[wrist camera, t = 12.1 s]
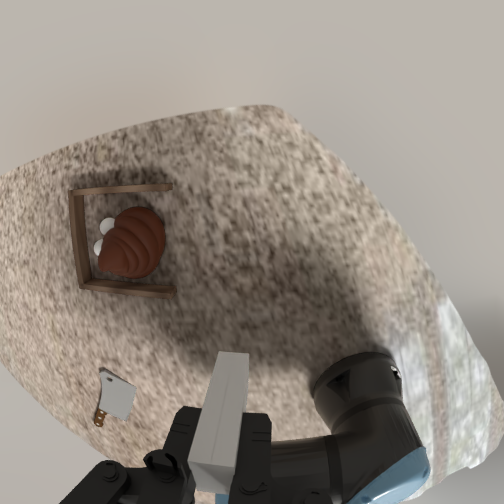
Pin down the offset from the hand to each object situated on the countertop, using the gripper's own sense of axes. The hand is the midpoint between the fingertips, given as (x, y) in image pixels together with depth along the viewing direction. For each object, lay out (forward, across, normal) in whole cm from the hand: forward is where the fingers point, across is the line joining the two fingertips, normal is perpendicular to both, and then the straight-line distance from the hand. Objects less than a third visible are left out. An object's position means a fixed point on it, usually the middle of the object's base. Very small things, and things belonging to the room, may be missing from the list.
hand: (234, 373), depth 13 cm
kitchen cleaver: (+23, +29, +36) cm, 52 cm away
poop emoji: (+23, +16, -1) cm, 28 cm away
